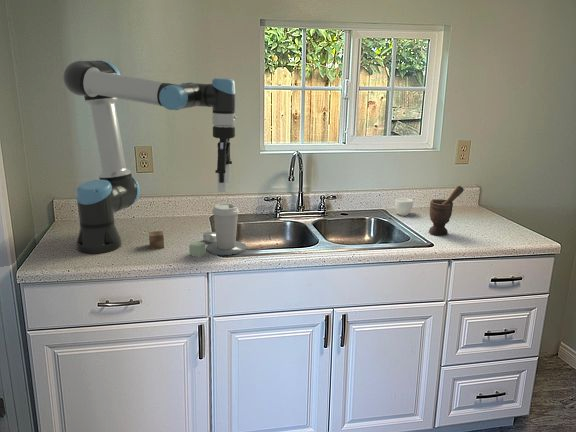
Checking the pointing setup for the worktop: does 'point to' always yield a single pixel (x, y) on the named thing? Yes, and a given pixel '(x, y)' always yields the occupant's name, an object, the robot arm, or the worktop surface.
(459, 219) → the worktop surface
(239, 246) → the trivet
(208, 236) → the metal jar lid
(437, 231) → the mortar and pestle
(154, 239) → the walnut block
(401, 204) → the cup
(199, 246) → the sage block
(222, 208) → the coffee cup
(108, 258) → the worktop surface
